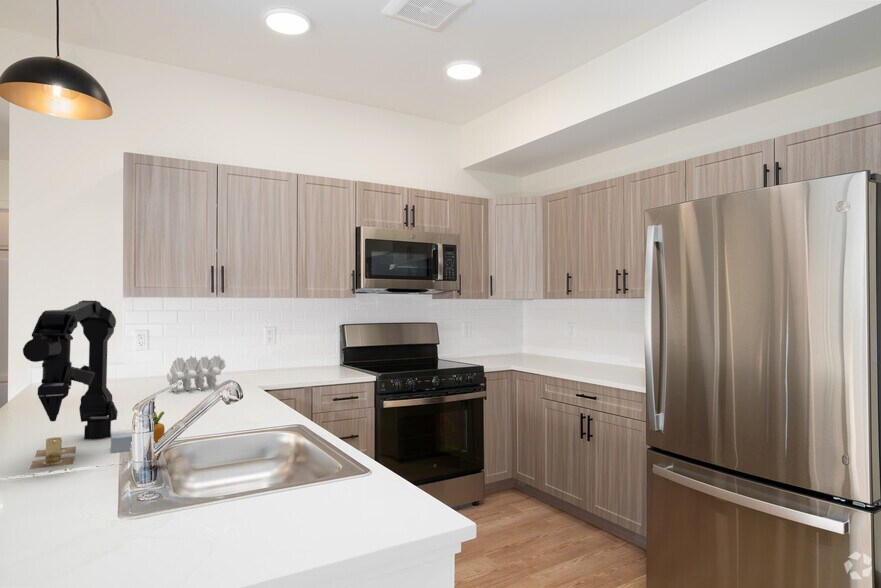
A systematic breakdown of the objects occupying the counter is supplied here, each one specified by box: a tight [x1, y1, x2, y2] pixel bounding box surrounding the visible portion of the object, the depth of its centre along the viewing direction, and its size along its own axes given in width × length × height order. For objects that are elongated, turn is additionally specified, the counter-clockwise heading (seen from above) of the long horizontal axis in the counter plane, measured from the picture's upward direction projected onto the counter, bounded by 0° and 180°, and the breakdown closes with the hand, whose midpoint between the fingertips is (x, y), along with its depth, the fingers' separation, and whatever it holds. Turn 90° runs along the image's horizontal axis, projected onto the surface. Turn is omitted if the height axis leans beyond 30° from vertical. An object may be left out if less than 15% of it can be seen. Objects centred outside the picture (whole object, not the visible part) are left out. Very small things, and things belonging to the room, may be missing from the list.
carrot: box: [153, 411, 165, 461], centre depth 138 cm, size 5×5×15 cm
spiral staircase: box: [166, 354, 226, 393], centre depth 264 cm, size 18×18×25 cm
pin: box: [44, 436, 62, 464], centre depth 138 cm, size 3×3×6 cm
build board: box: [29, 455, 75, 470], centre depth 138 cm, size 9×8×1 cm
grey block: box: [110, 431, 133, 454], centre depth 151 cm, size 6×6×5 cm
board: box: [34, 439, 77, 458], centre depth 148 cm, size 9×8×4 cm
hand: (54, 418), depth 138 cm, fingers open, 9 cm apart
